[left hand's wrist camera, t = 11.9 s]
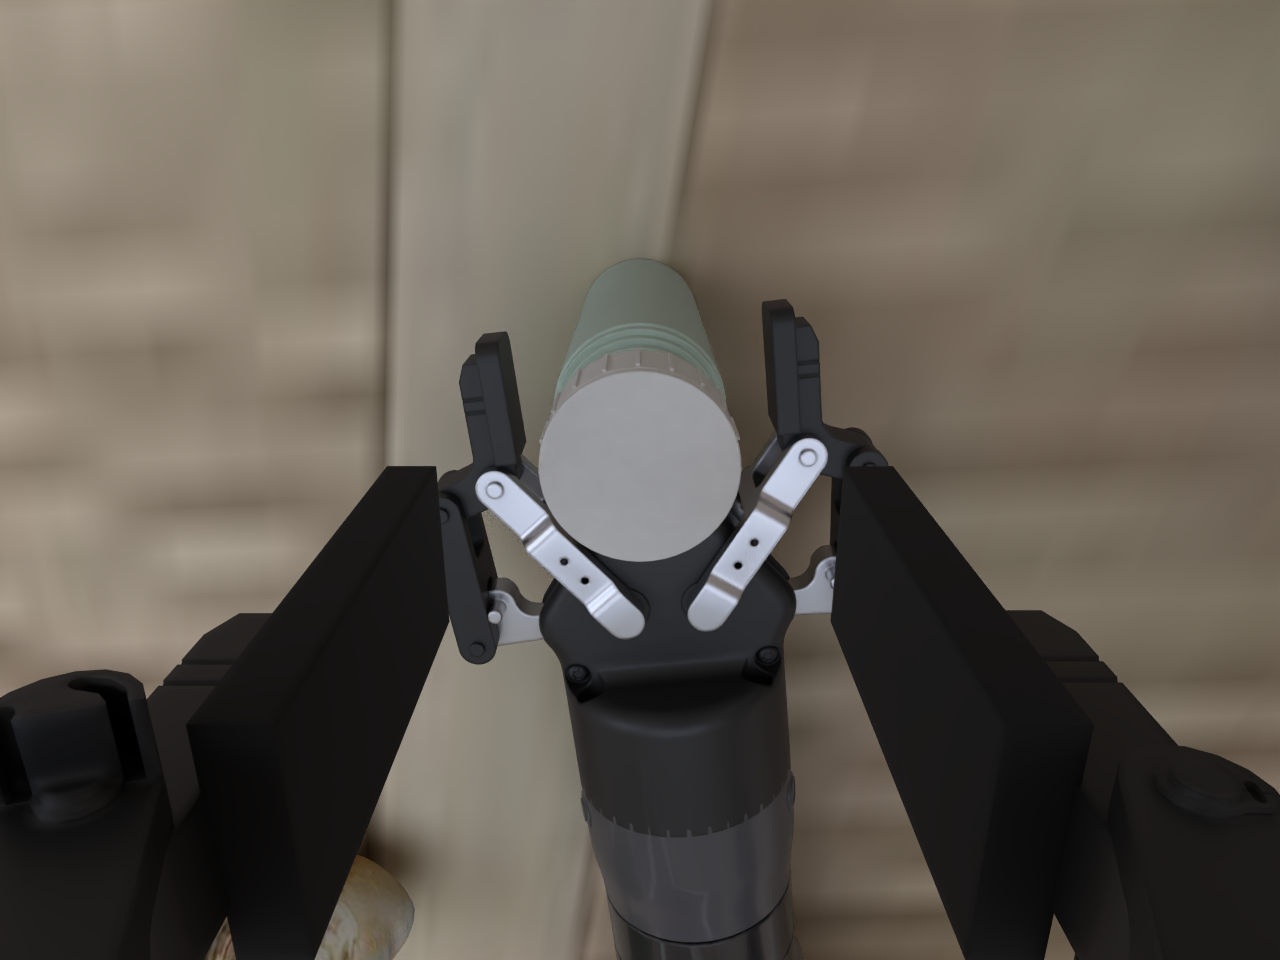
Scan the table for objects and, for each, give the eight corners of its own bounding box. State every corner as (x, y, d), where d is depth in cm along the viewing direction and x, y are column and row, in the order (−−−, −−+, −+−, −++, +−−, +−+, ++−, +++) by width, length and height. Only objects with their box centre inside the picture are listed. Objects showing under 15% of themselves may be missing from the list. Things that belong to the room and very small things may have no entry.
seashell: (424, 815, 41) (375, 966, 33) (432, 911, 43) (388, 1074, 35) (215, 812, 41) (119, 963, 33) (233, 908, 43) (146, 1072, 35)
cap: (767, 474, 19) (780, 507, 18) (605, 557, 20) (603, 597, 18) (678, 311, 18) (682, 329, 16) (509, 406, 19) (495, 433, 17)
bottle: (716, 337, 33) (779, 500, 18) (619, 391, 34) (602, 590, 19) (661, 237, 32) (681, 322, 17) (562, 294, 33) (495, 426, 18)
